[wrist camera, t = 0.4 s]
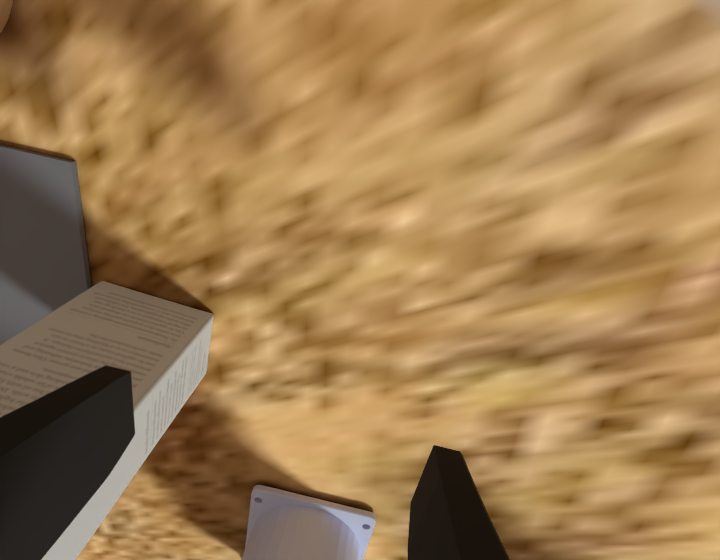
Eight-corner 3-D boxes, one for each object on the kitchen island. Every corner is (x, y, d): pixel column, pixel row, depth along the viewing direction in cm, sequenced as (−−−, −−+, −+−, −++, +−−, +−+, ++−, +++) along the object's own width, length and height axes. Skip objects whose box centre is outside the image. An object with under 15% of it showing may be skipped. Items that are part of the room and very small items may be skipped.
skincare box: (104, 343, 22) (-194, 589, 11) (103, 277, 20) (-258, 496, 9) (210, 375, 22) (16, 651, 11) (219, 312, 20) (-5, 571, 9)
